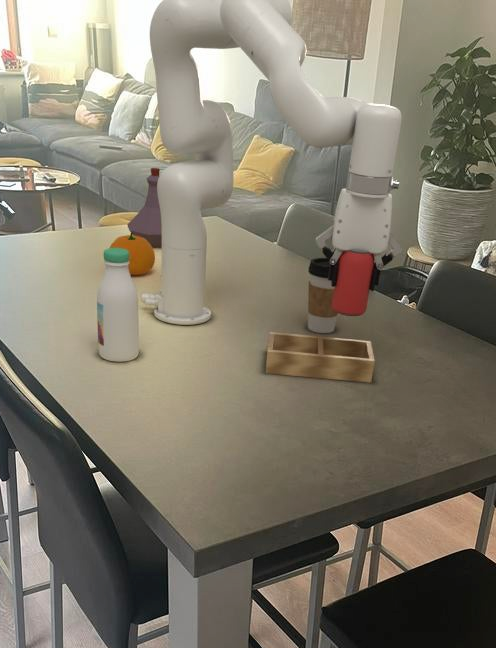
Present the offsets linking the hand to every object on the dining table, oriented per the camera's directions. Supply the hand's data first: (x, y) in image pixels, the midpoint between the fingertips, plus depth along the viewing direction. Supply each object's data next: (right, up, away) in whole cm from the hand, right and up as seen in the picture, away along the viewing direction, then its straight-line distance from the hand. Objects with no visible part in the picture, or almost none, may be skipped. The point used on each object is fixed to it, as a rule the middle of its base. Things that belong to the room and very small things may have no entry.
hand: (352, 285), depth 144 cm
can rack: (-6, -14, +9) cm, 17 cm away
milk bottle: (-45, -12, +7) cm, 47 cm away
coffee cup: (-3, -1, +28) cm, 28 cm away
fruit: (-50, +19, +54) cm, 76 cm away
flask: (-47, +35, +79) cm, 98 cm away
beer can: (0, -4, +3) cm, 5 cm away
